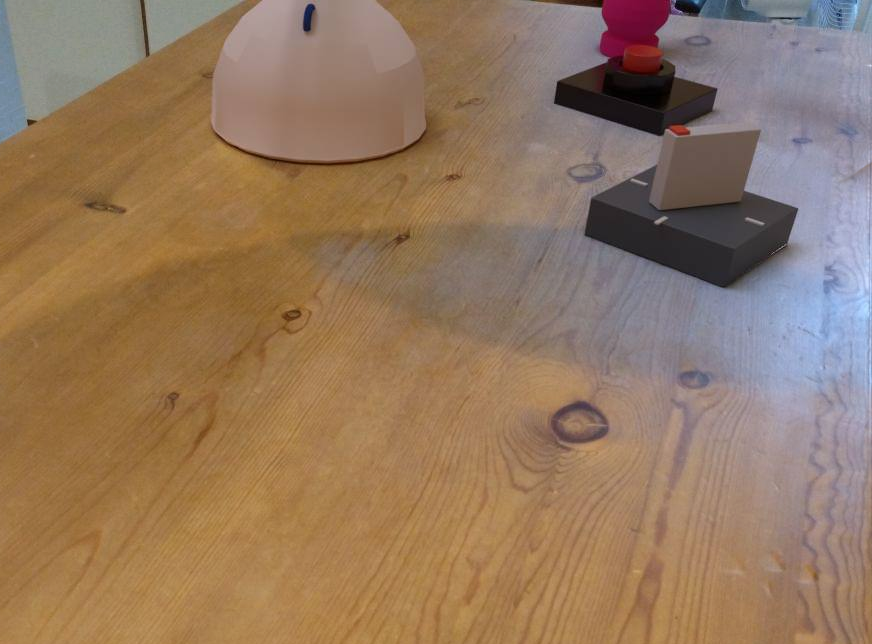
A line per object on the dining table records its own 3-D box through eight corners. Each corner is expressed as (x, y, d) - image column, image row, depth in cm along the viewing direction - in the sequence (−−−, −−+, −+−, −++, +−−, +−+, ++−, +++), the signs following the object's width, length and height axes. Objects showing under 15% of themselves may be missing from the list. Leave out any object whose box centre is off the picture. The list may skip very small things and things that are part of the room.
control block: (712, 111, 104) (723, 68, 102) (659, 136, 99) (669, 92, 96) (608, 81, 111) (616, 40, 108) (553, 103, 105) (559, 61, 102)
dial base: (790, 242, 82) (803, 203, 80) (719, 290, 76) (731, 249, 74) (655, 196, 88) (663, 159, 86) (579, 236, 82) (586, 197, 80)
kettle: (437, 95, 106) (454, -114, 94) (412, 174, 91) (430, -64, 79) (240, 79, 109) (233, -127, 97) (183, 154, 93) (167, -80, 81)
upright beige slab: (729, 193, 82) (750, 117, 78) (740, 202, 80) (762, 125, 77) (648, 202, 80) (665, 125, 76) (658, 210, 79) (676, 133, 75)
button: (666, 70, 102) (670, 51, 101) (646, 78, 100) (650, 58, 99) (634, 61, 104) (637, 42, 103) (614, 69, 102) (617, 50, 101)
